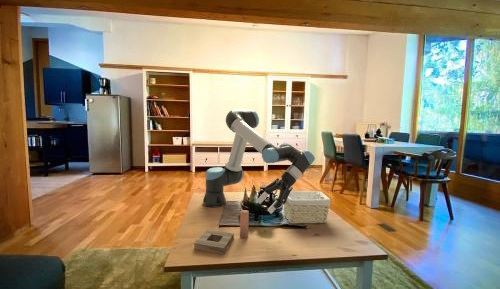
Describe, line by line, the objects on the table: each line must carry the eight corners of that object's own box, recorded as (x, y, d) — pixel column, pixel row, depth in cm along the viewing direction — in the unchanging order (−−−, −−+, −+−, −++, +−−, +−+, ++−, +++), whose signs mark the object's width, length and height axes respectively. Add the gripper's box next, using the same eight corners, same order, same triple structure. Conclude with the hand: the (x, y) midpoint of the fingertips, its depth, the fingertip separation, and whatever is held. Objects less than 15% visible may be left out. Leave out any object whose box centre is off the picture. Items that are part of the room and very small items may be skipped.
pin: (241, 234, 132) (241, 209, 130) (248, 235, 131) (249, 210, 130) (238, 237, 128) (239, 212, 127) (246, 239, 127) (247, 213, 126)
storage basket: (319, 213, 163) (320, 190, 161) (330, 224, 147) (332, 199, 145) (281, 213, 160) (282, 190, 158) (288, 225, 144) (289, 199, 142)
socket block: (207, 235, 130) (207, 229, 130) (233, 239, 127) (233, 233, 127) (194, 249, 117) (194, 243, 116) (223, 254, 114) (223, 248, 113)
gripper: (309, 187, 124) (279, 221, 121) (284, 174, 147) (258, 203, 144) (299, 177, 122) (269, 211, 118) (275, 165, 145) (249, 194, 141)
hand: (263, 207), depth 131 cm, fingers open, 13 cm apart
